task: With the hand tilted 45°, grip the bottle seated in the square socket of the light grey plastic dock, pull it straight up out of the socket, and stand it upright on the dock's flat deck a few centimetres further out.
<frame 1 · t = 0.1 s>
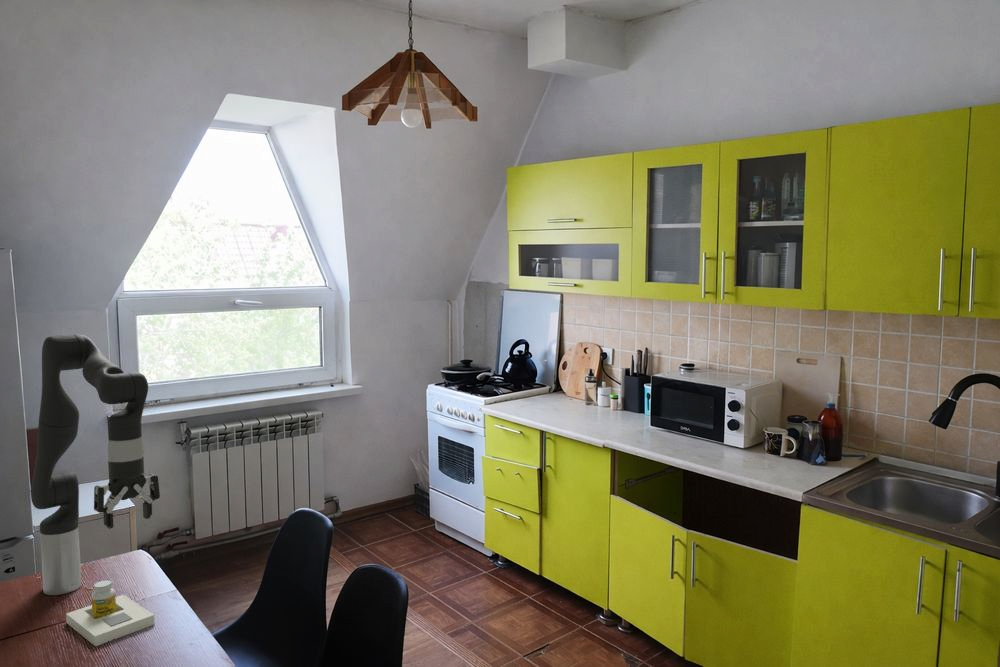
hand: (128, 522, 171), 29 cm above the table, tool pointing down, fingers open, 8 cm apart
supplement bottle: (104, 620, 184), resting in socket dock
socket dock: (110, 623, 182), on the table
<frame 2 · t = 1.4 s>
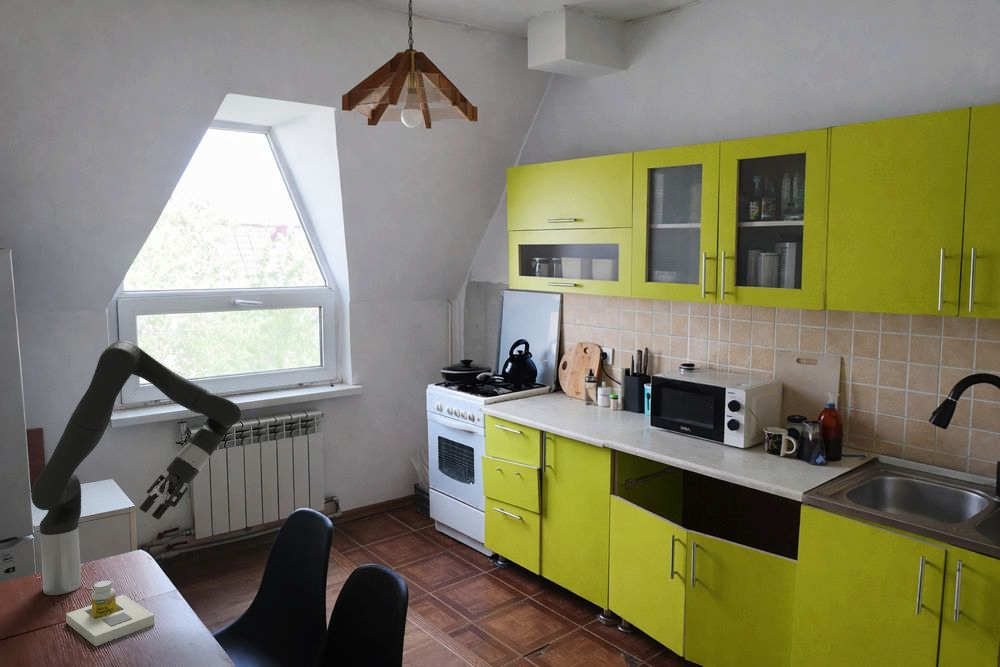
hand: (148, 514, 191), 25 cm above the table, tool tilted 45°, fingers open, 8 cm apart
nothing on the table moved.
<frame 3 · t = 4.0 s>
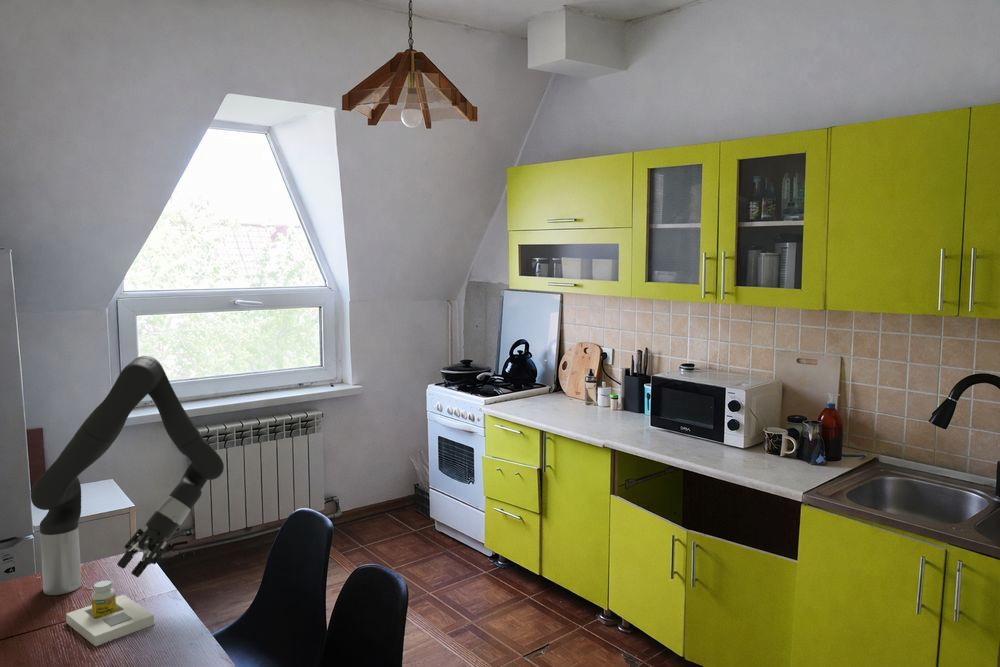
hand: (127, 571, 188), 11 cm above the table, tool tilted 45°, fingers open, 8 cm apart
nothing on the table moved.
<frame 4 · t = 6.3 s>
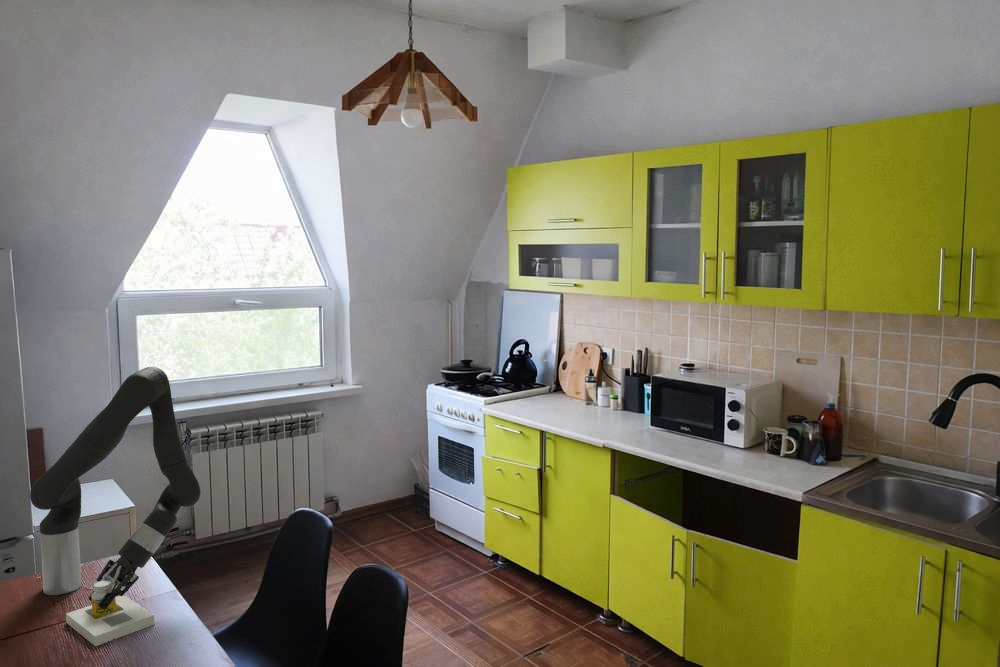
hand: (96, 604, 182), 5 cm above the table, tool tilted 45°, fingers closed on supplement bottle, 5 cm apart
supplement bottle: (104, 620, 184), resting in socket dock, touching gripper
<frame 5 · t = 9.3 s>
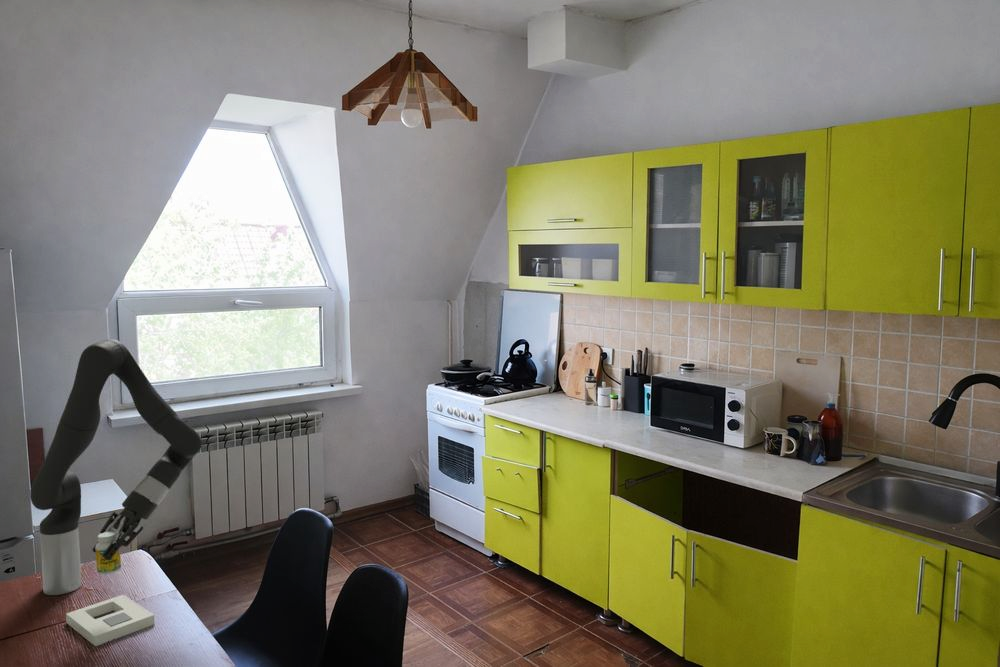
hand: (100, 555, 179), 18 cm above the table, tool tilted 45°, fingers closed on supplement bottle, 5 cm apart
supplement bottle: (109, 571, 181), point 13 cm above the table, touching gripper
when the fingers open (8 cm above the table, at t = 12.4 s): supplement bottle drops 1 cm, resting on socket dock.
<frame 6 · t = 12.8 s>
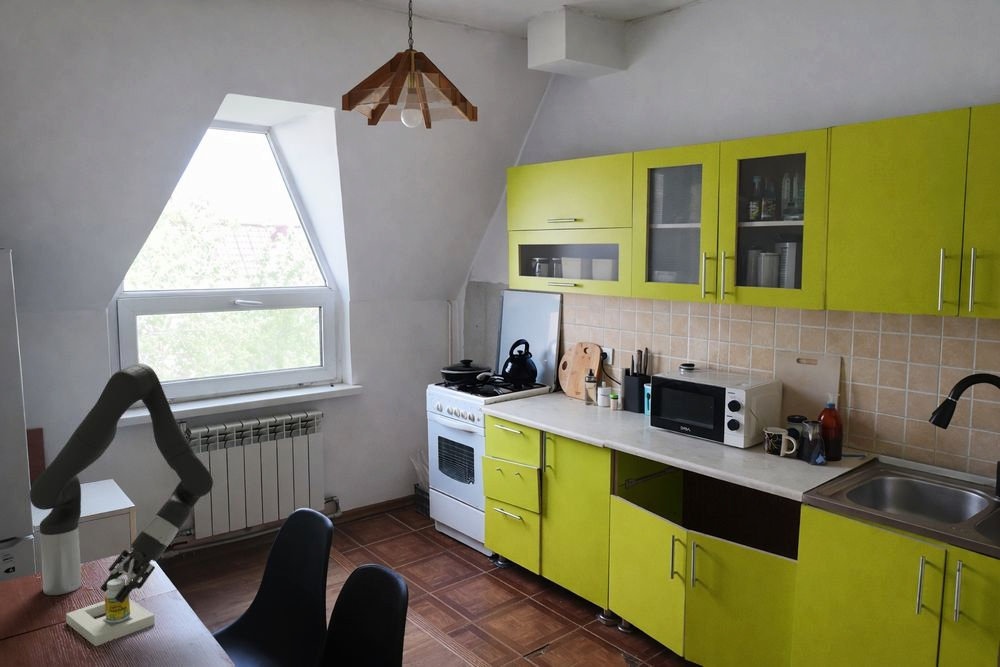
hand: (110, 595, 177), 9 cm above the table, tool tilted 45°, fingers open, 8 cm apart
supplement bottle: (118, 619, 179), point 3 cm above the table, touching socket dock
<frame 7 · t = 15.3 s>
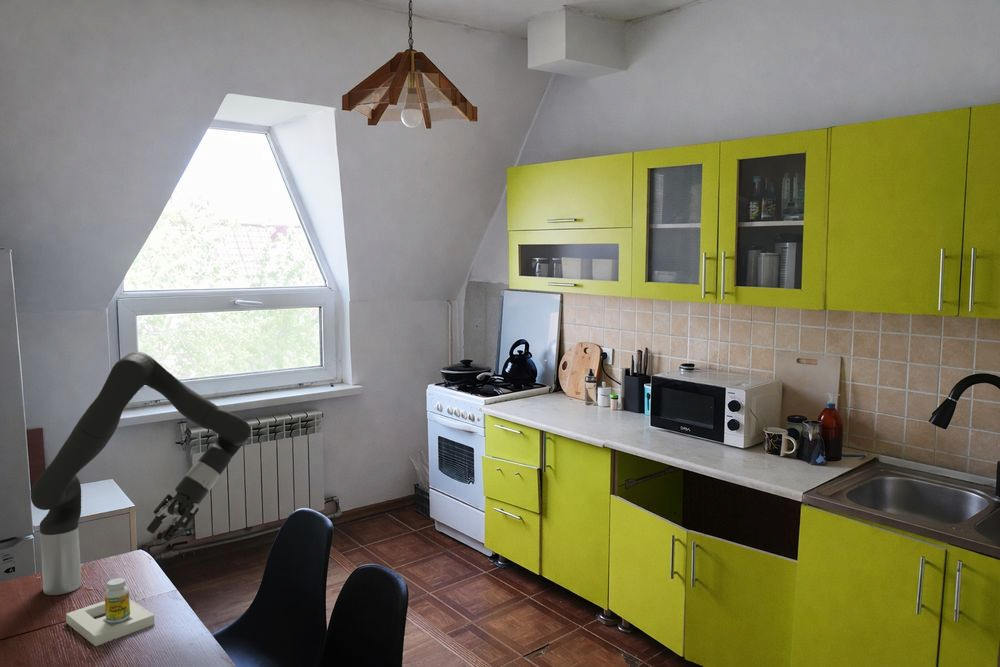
hand: (156, 535, 185), 21 cm above the table, tool tilted 45°, fingers open, 8 cm apart
nothing on the table moved.
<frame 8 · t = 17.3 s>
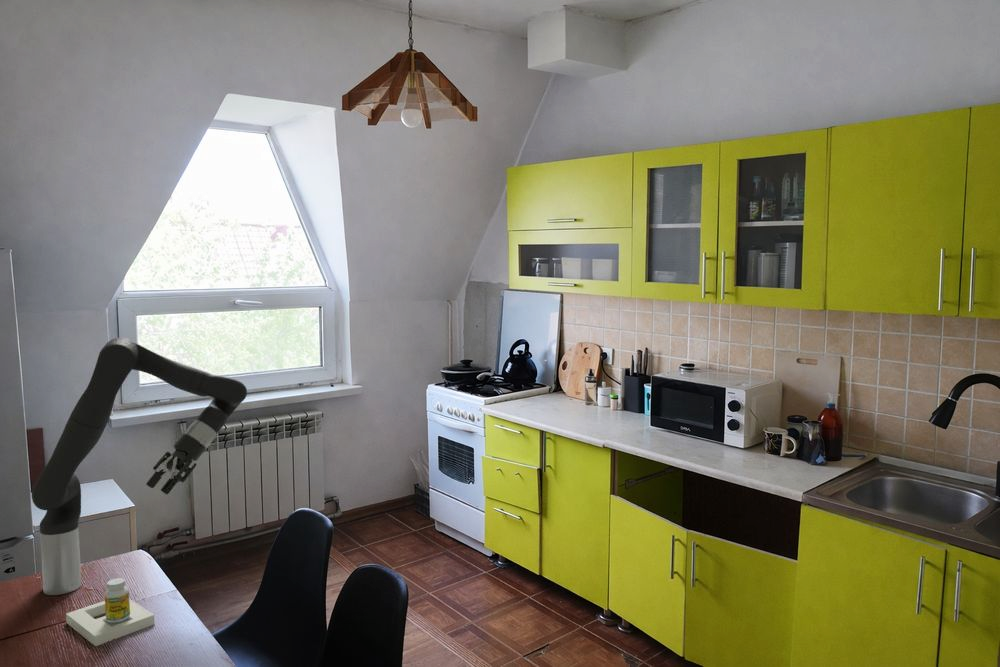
hand: (156, 489, 193), 31 cm above the table, tool tilted 45°, fingers open, 8 cm apart
nothing on the table moved.
at the end: supplement bottle 0.5 cm from the target spot on the socket dock, point 2.5 cm above the socket dock's base; supplement bottle tilted 0°; the gripper is holding nothing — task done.
